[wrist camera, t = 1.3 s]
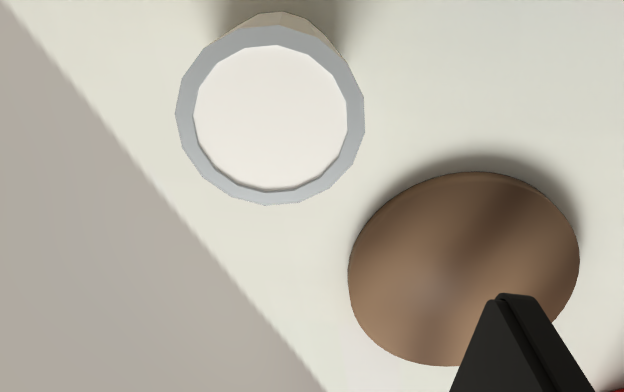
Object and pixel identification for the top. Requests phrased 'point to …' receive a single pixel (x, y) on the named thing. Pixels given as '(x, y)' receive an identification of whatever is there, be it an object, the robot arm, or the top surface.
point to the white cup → (271, 111)
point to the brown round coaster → (457, 262)
